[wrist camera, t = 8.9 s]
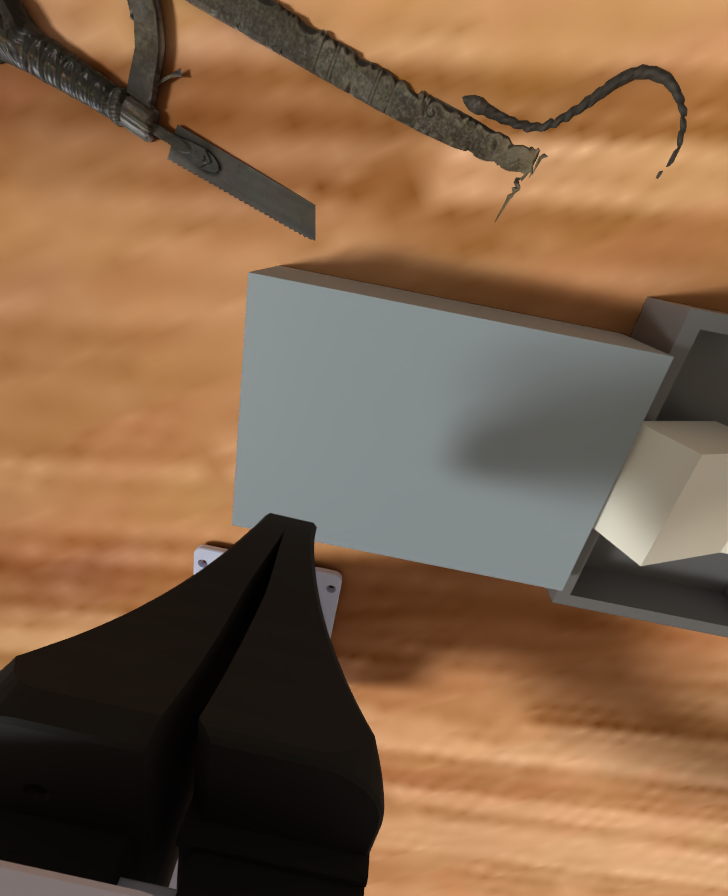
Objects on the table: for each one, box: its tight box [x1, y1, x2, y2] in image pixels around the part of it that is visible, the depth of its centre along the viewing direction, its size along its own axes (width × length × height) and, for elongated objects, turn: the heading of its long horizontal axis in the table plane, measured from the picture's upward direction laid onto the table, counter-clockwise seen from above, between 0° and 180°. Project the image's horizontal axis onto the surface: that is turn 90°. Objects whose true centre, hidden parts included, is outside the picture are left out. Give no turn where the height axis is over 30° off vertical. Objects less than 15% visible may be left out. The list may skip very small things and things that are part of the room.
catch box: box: [547, 297, 728, 637], centre depth 19 cm, size 13×10×3 cm
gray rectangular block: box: [232, 266, 674, 591], centre depth 19 cm, size 10×14×4 cm
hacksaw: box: [0, 0, 687, 240], centre depth 15 cm, size 24×10×2 cm, turn 62°
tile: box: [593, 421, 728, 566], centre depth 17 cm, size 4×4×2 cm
